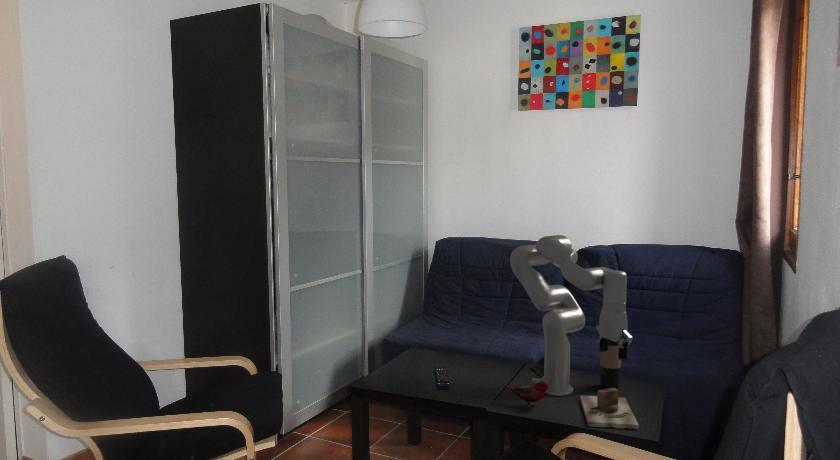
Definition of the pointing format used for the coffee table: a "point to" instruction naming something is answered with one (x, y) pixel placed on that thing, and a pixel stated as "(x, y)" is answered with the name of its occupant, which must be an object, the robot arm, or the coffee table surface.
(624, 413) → the dial board
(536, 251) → the robot arm
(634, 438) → the coffee table surface
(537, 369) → the phone
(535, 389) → the decorative bird figurine
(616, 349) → the travel mug
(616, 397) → the knob
